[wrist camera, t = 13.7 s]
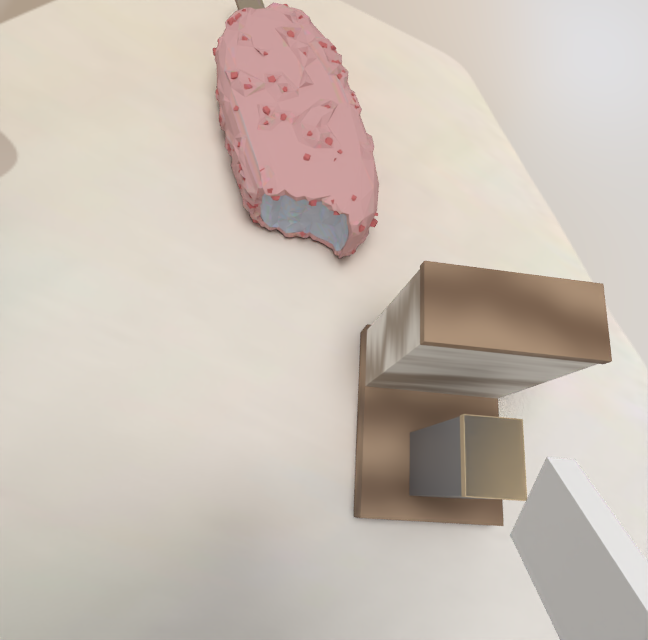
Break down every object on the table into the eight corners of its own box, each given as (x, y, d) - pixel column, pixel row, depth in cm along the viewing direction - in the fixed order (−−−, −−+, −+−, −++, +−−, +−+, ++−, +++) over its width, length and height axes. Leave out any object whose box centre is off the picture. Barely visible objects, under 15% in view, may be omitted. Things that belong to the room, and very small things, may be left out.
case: (456, 498, 44) (527, 500, 34) (408, 495, 44) (465, 497, 33) (455, 435, 46) (522, 419, 36) (409, 432, 45) (463, 414, 35)
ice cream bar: (310, -59, 52) (415, 215, 45) (298, 15, 60) (386, 257, 53) (176, -50, 49) (266, 246, 42) (183, 27, 57) (259, 286, 50)
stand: (490, 524, 47) (632, 541, 30) (352, 516, 45) (424, 530, 29) (484, 345, 52) (602, 278, 35) (359, 332, 50) (424, 254, 34)
